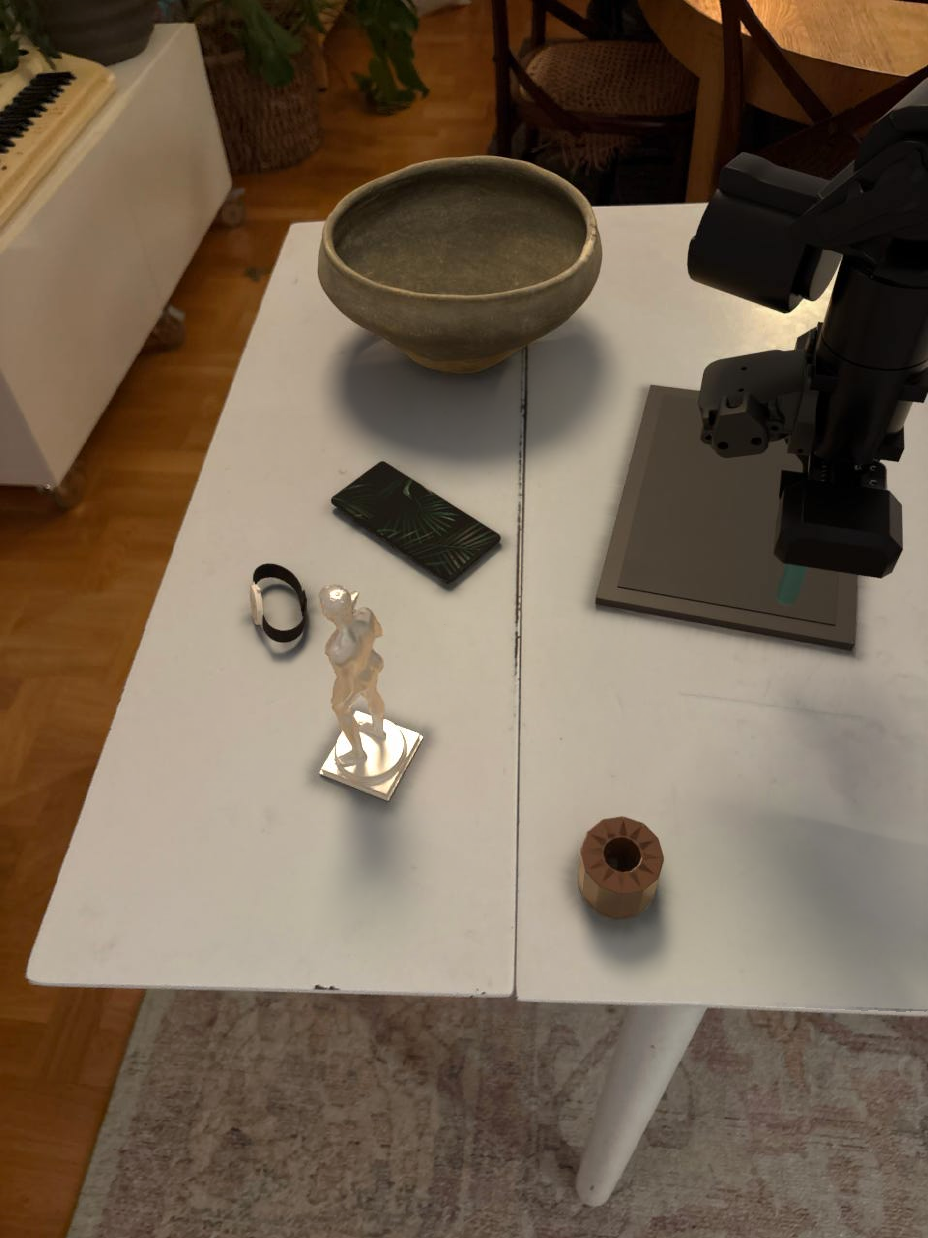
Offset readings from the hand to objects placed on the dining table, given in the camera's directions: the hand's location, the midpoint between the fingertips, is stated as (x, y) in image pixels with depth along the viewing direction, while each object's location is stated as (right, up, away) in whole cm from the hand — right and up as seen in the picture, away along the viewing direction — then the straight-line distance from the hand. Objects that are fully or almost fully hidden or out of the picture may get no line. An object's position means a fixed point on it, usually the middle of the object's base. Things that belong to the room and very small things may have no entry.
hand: (807, 539), depth 60 cm
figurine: (-29, -15, +7) cm, 34 cm away
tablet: (+1, +5, +20) cm, 21 cm away
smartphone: (-27, +3, +21) cm, 34 cm away
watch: (-38, -5, +16) cm, 41 cm away
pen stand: (-13, -23, 0) cm, 26 cm away
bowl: (-23, +24, +37) cm, 50 cm away
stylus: (0, -4, +5) cm, 7 cm away
